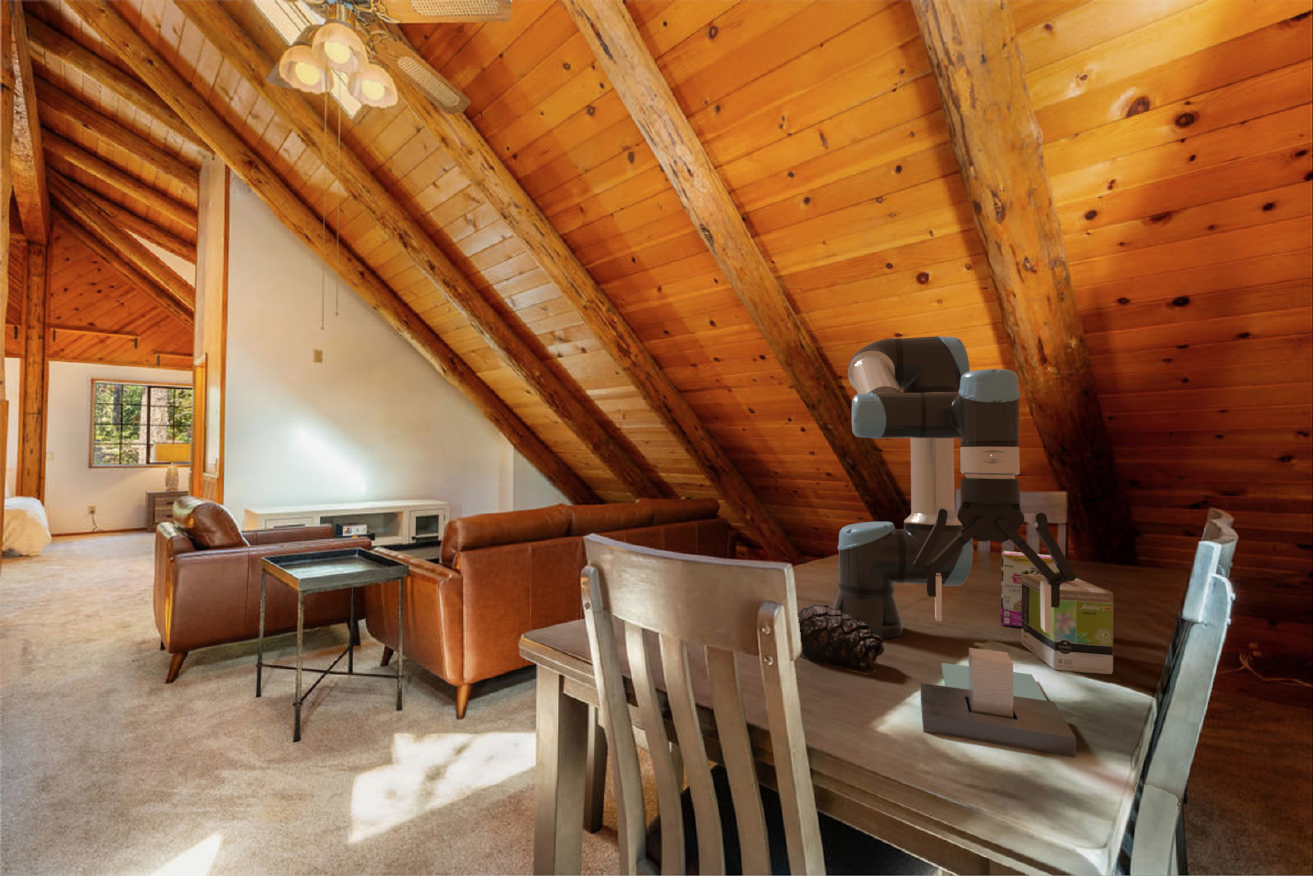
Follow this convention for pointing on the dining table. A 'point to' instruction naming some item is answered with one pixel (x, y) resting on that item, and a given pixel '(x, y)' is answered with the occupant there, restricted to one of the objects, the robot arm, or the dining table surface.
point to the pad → (1021, 682)
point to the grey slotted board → (997, 721)
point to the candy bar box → (1016, 584)
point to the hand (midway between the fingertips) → (990, 624)
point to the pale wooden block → (990, 683)
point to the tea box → (1070, 626)
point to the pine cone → (838, 639)
